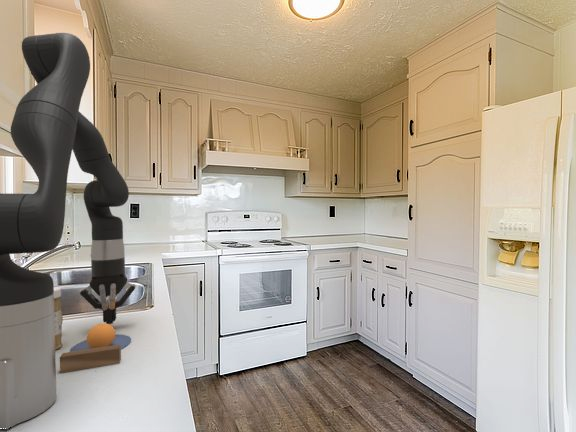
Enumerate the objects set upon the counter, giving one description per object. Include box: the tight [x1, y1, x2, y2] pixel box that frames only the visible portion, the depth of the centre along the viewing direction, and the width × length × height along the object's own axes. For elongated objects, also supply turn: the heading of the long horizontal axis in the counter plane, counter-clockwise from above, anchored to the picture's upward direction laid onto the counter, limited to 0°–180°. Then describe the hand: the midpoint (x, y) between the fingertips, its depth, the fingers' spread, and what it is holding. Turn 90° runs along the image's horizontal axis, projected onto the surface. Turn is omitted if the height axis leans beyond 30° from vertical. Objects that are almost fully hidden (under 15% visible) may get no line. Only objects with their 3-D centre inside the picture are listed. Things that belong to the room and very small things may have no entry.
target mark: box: [69, 333, 132, 352], centre depth 71 cm, size 12×12×1 cm
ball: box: [86, 322, 116, 348], centre depth 70 cm, size 6×6×6 cm
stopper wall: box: [59, 344, 122, 374], centre depth 62 cm, size 2×10×3 cm, turn 111°
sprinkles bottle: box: [53, 286, 63, 351], centre depth 70 cm, size 5×5×14 cm
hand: (109, 323), depth 81 cm, fingers closed
